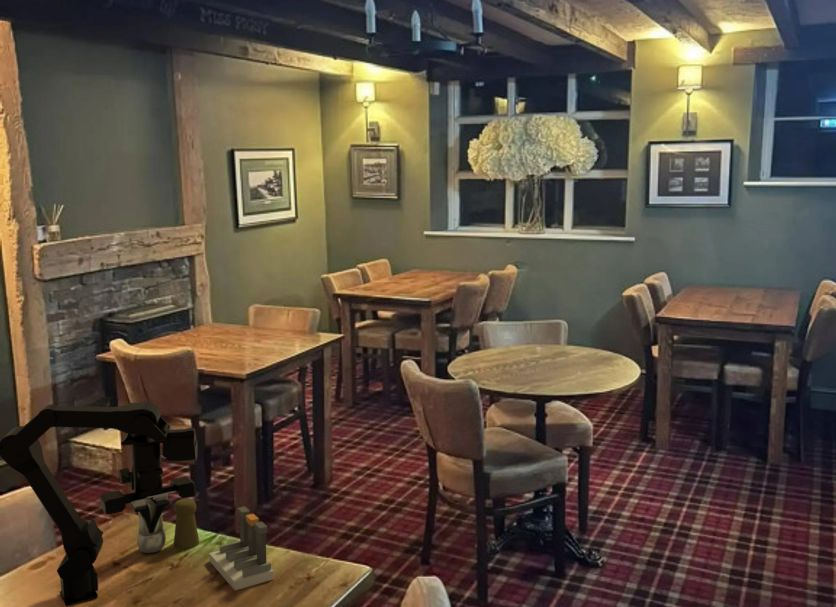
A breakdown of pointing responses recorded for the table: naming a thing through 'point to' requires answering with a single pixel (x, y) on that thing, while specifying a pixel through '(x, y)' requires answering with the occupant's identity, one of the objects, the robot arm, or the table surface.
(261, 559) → the right breaker handle
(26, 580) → the table surface
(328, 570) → the table surface
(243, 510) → the handle
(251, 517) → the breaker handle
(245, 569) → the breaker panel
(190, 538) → the olive pepper mill
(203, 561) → the table surface
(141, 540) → the plastic bottle
